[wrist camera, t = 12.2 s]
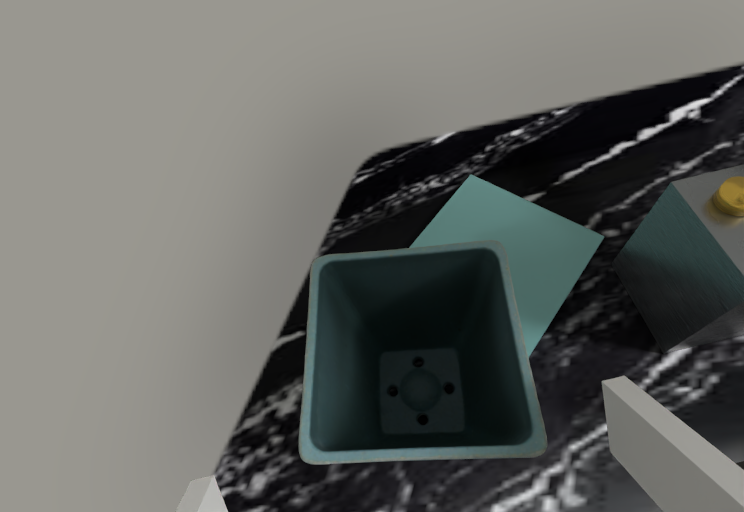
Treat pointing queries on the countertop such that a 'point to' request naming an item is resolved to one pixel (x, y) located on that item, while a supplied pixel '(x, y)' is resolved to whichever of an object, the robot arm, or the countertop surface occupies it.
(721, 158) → the countertop surface
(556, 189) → the countertop surface
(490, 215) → the pad
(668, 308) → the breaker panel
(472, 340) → the flower pot
